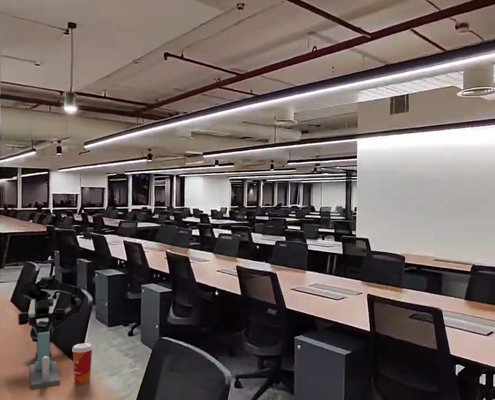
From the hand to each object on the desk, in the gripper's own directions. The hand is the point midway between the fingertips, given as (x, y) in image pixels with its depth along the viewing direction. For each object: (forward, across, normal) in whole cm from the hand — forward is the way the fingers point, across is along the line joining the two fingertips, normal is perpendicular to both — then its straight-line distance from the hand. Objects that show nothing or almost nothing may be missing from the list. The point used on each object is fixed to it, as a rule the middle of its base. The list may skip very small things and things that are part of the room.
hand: (42, 333), depth 191 cm
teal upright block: (+16, 0, +1) cm, 16 cm away
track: (+19, 0, 0) cm, 19 cm away
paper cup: (+28, +13, -9) cm, 32 cm away
